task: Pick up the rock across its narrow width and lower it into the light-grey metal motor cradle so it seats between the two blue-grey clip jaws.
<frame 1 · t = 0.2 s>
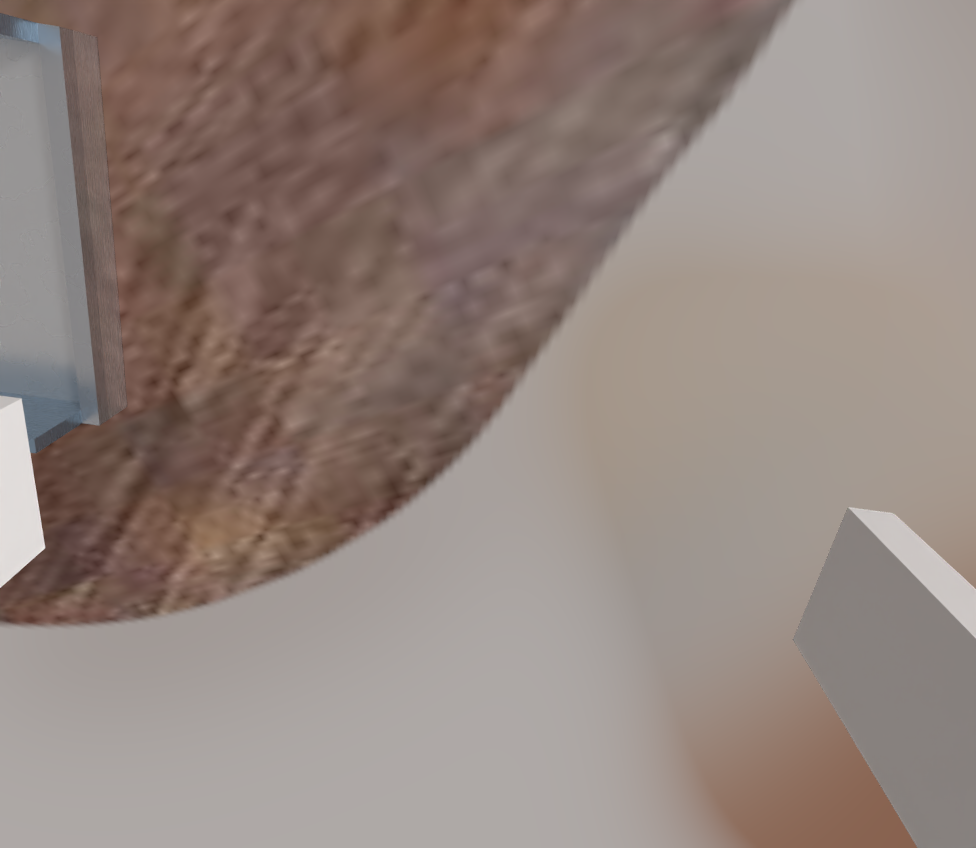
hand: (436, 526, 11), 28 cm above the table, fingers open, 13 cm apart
cradle: (13, 226, 36), on the table
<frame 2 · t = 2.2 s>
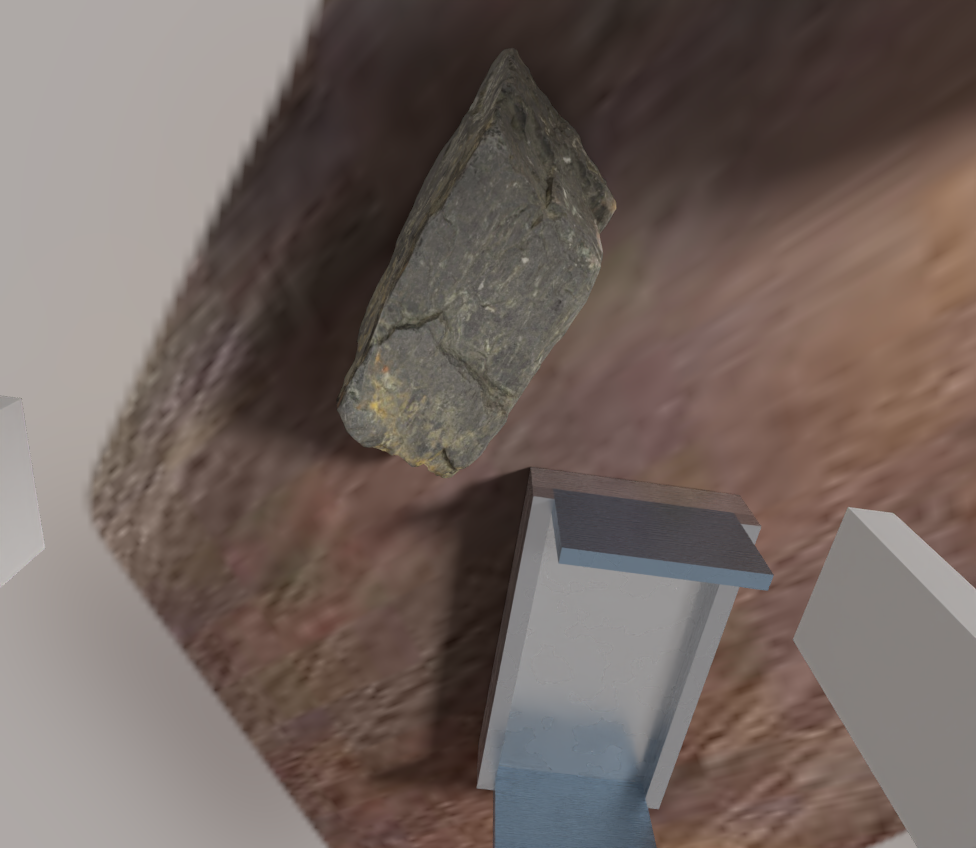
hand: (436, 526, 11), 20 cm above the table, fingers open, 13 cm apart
cradle: (595, 632, 37), on the table
rock: (483, 270, 30), on the table
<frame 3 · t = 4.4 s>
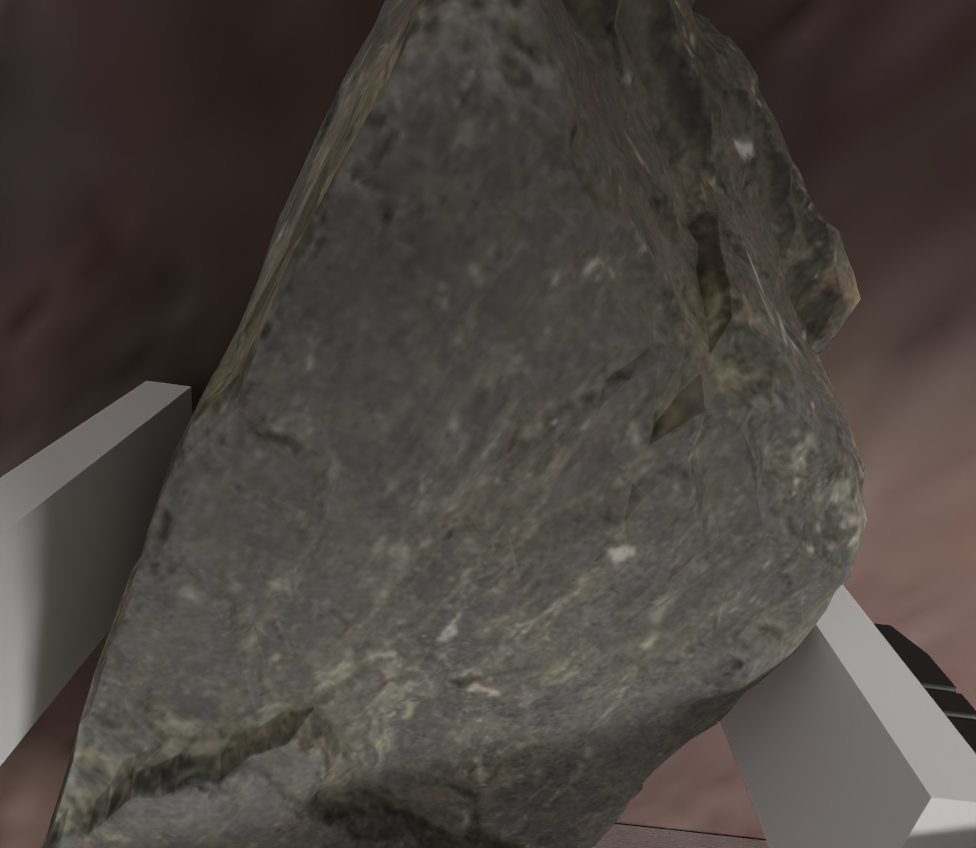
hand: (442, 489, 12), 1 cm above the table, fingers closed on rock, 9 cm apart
rock: (469, 428, 12), on the table, touching gripper
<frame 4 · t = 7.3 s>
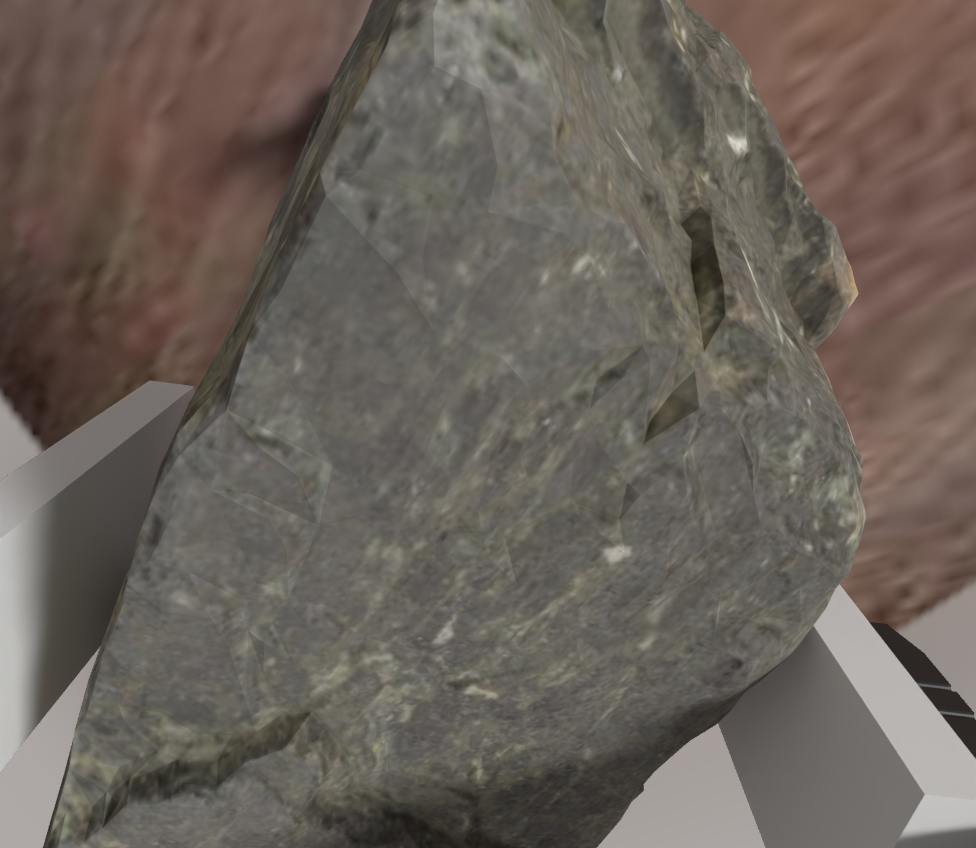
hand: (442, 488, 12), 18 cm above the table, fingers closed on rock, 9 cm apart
rock: (467, 428, 12), point 17 cm above the table, touching gripper
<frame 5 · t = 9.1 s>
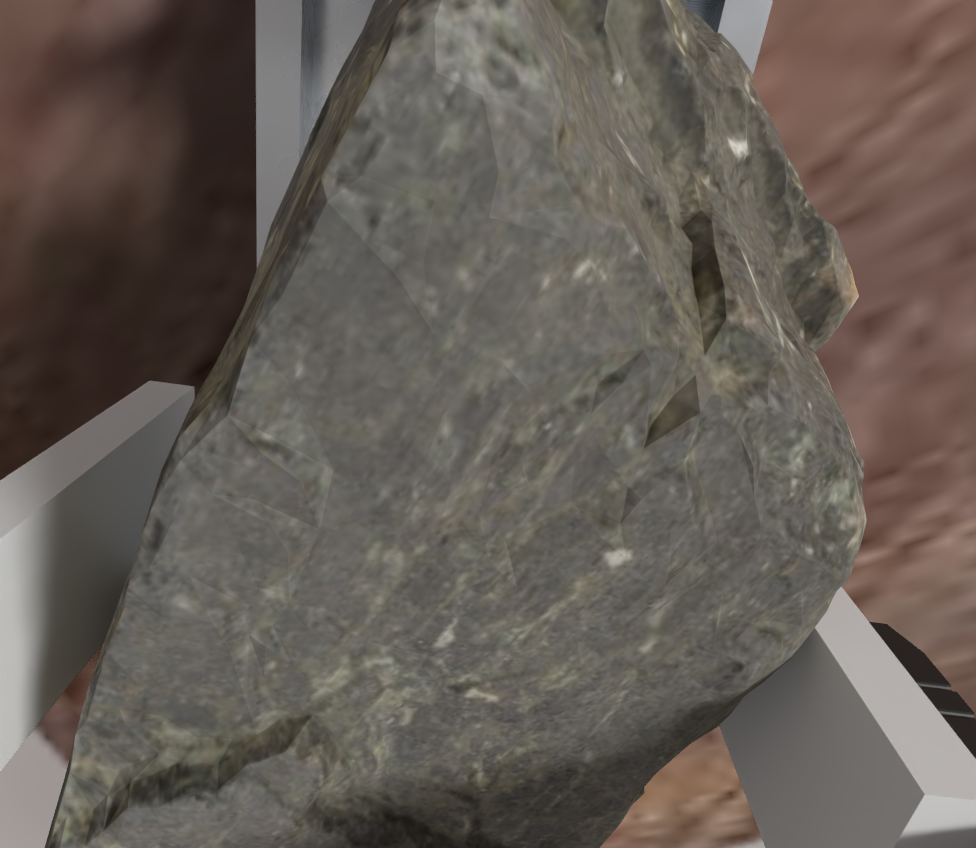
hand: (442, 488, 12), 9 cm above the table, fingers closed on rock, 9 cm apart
cradle: (468, 343, 20), on the table
rock: (467, 430, 12), point 8 cm above the table, touching gripper
when the fingers open (5 cm above the table, at t = 10.4 s): rock moves 1 cm, resting on cradle.
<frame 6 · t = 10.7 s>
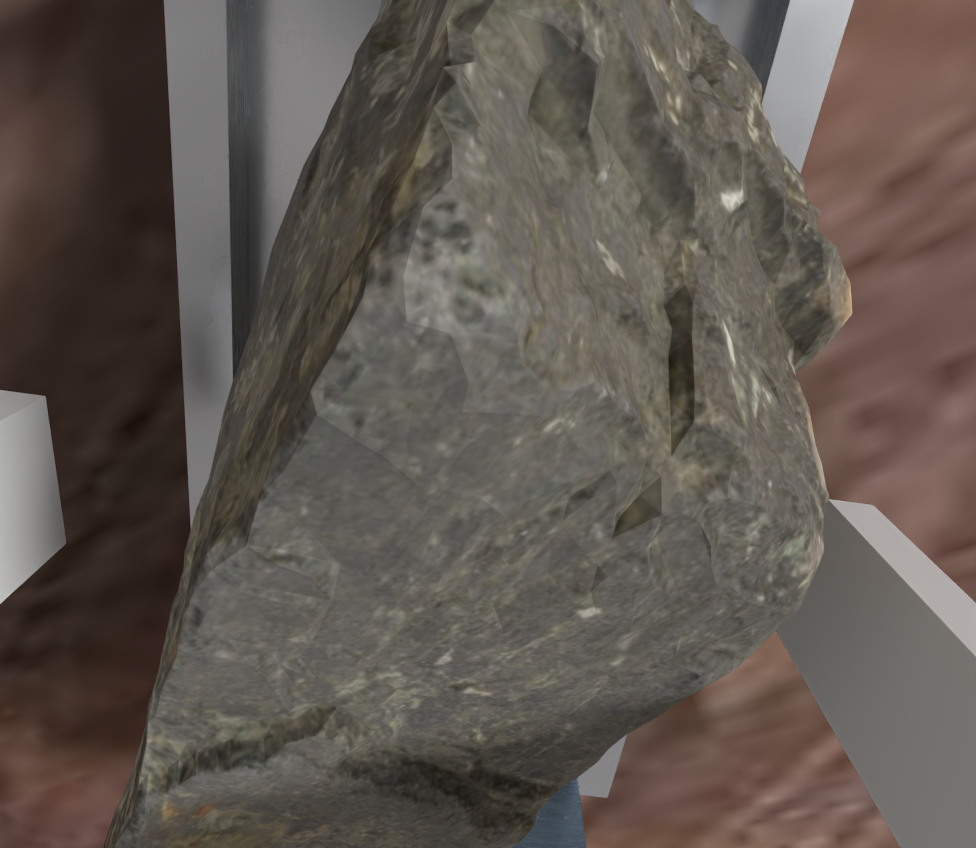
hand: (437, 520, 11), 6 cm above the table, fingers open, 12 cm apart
cradle: (458, 393, 16), on the table
rock: (473, 400, 13), point 3 cm above the table, touching cradle
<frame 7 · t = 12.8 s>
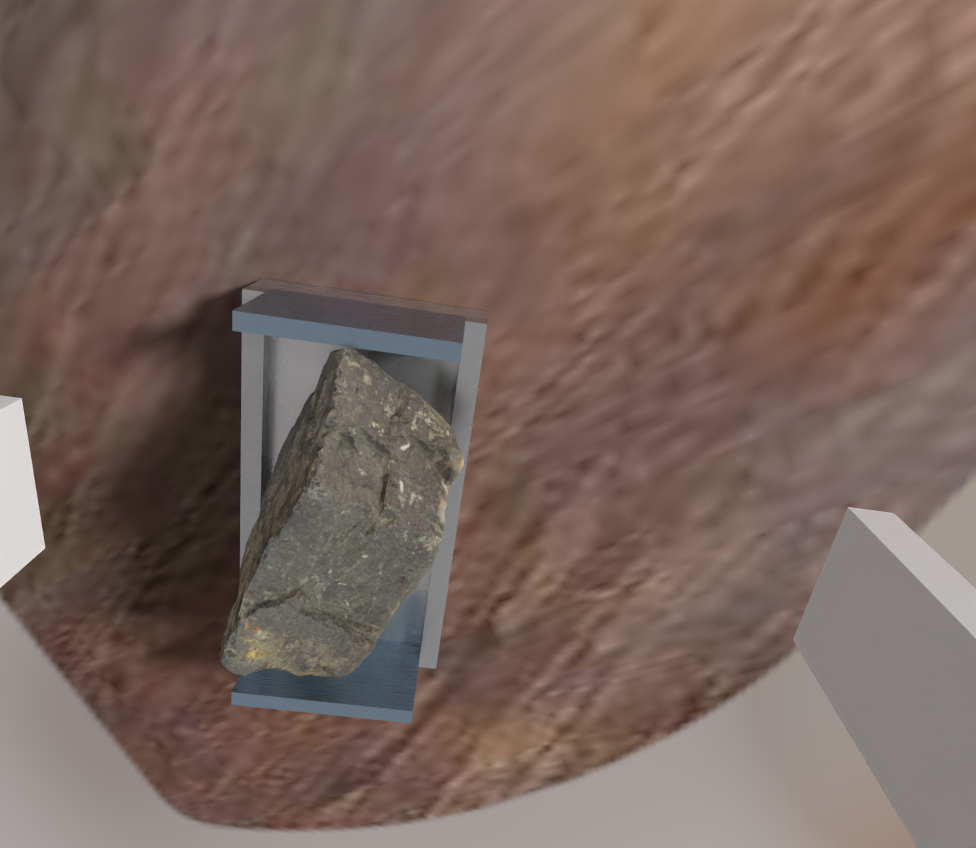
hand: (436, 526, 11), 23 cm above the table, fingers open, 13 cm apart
cradle: (361, 475, 35), on the table
rock: (357, 485, 32), point 3 cm above the table, touching cradle
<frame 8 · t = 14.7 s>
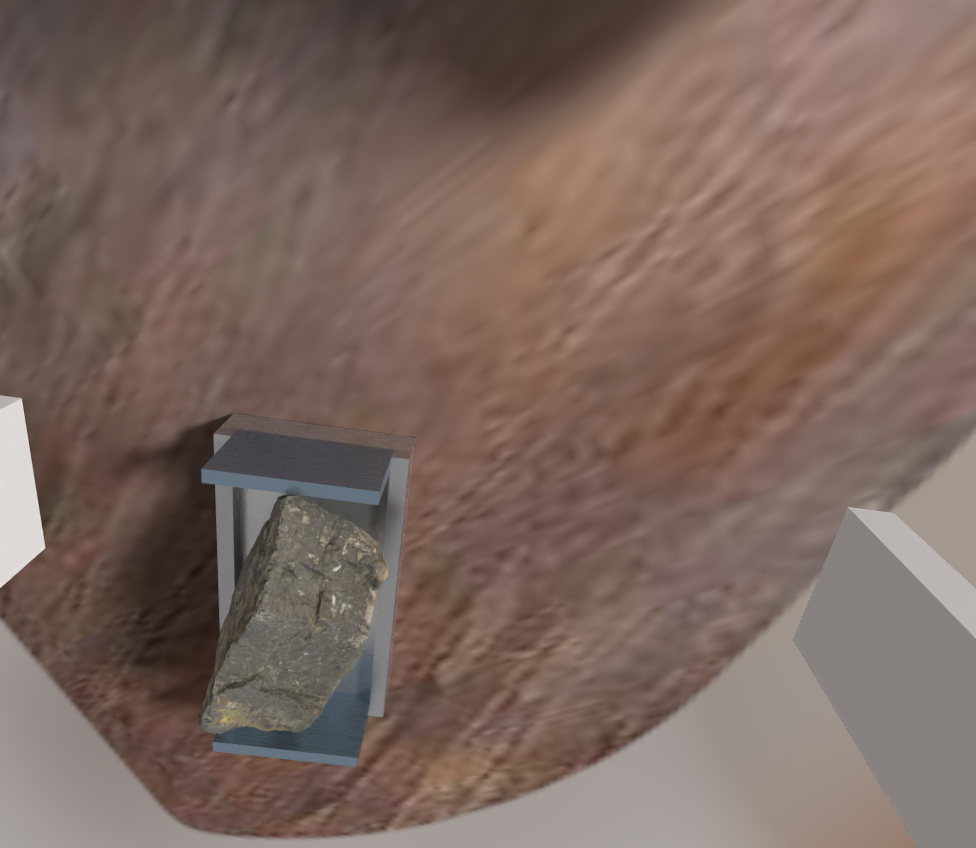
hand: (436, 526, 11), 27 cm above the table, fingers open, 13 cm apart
cradle: (319, 561, 43), on the table
rock: (310, 579, 39), point 3 cm above the table, touching cradle
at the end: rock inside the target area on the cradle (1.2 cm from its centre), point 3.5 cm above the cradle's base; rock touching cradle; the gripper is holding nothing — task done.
